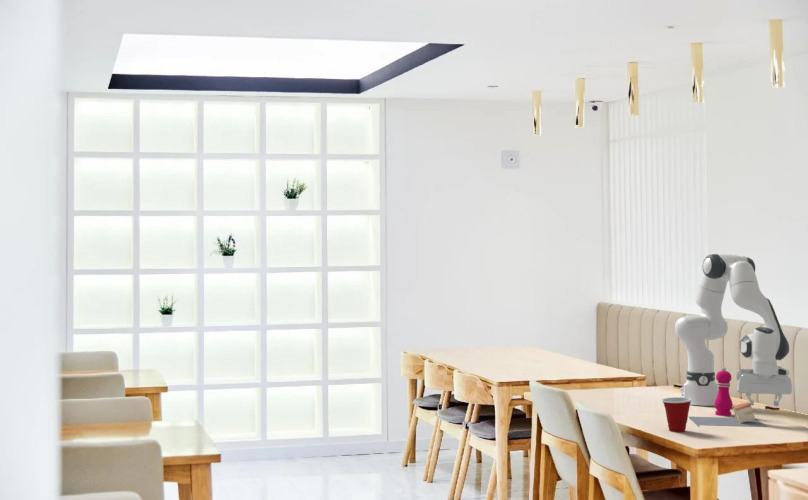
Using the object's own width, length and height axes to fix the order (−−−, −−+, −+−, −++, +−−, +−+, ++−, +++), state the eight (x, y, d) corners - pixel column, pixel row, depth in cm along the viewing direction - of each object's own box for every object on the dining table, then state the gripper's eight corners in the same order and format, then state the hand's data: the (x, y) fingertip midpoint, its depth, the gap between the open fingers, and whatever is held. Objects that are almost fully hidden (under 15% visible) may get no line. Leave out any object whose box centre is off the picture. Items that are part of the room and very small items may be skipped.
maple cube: (736, 420, 377) (731, 406, 377) (751, 416, 377) (746, 401, 377) (740, 423, 371) (735, 408, 371) (755, 419, 371) (750, 404, 371)
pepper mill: (720, 417, 387) (721, 368, 387) (710, 414, 394) (710, 366, 394) (736, 417, 389) (736, 367, 389) (725, 414, 396) (726, 365, 396)
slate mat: (688, 417, 386) (688, 416, 386) (755, 419, 383) (755, 418, 383) (698, 426, 366) (698, 425, 366) (768, 428, 363) (768, 427, 363)
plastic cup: (658, 427, 362) (658, 396, 362) (687, 428, 362) (687, 396, 362) (664, 433, 351) (665, 400, 351) (694, 433, 351) (695, 400, 351)
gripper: (738, 369, 371) (738, 405, 371) (793, 371, 369) (793, 407, 369) (734, 368, 378) (734, 403, 377) (788, 369, 375) (788, 404, 375)
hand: (763, 405), depth 373 cm, fingers open, 8 cm apart
